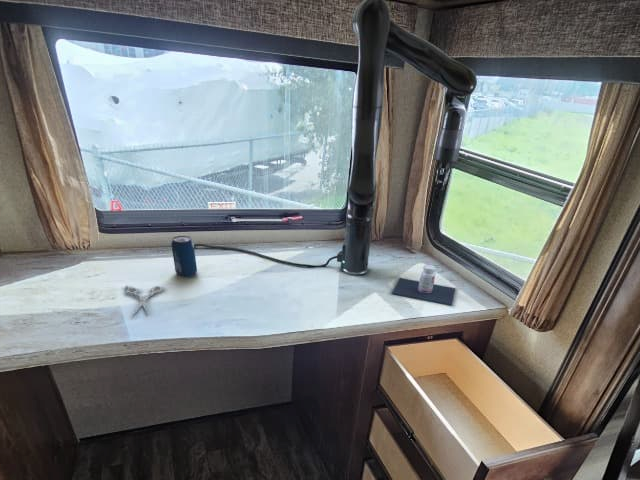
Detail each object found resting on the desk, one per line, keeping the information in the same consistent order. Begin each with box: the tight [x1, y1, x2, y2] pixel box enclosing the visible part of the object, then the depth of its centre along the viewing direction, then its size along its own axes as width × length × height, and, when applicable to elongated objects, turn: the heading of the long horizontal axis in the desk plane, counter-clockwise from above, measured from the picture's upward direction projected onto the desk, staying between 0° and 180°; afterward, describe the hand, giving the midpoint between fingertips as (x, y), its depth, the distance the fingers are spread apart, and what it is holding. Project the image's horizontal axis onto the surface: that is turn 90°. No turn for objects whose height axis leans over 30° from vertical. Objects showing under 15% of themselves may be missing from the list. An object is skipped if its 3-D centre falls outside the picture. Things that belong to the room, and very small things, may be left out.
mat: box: [391, 277, 456, 307], centre depth 148 cm, size 20×14×1 cm
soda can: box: [170, 235, 198, 278], centre depth 142 cm, size 7×7×12 cm
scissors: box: [125, 285, 163, 316], centre depth 127 cm, size 11×1×20 cm
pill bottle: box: [418, 264, 437, 293], centre depth 145 cm, size 5×5×8 cm
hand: (437, 198), depth 148 cm, fingers open, 8 cm apart
